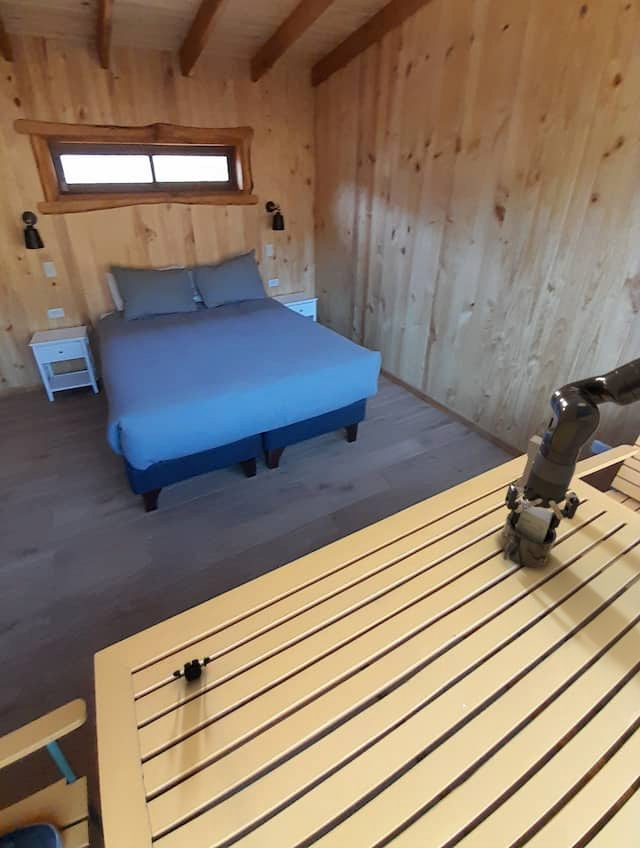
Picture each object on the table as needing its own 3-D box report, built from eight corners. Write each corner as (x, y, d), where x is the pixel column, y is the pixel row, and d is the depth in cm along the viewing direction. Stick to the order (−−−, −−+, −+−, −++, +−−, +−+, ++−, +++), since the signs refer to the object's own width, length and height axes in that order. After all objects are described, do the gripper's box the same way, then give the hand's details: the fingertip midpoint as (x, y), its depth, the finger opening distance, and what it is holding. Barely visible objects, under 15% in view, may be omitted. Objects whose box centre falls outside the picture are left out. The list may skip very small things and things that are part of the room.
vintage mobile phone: (520, 479, 122) (543, 410, 111) (538, 488, 119) (563, 418, 107) (515, 485, 120) (537, 415, 109) (532, 494, 116) (558, 423, 105)
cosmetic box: (541, 548, 99) (555, 512, 94) (536, 560, 96) (551, 523, 91) (512, 534, 103) (524, 499, 98) (507, 545, 100) (520, 509, 95)
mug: (515, 526, 106) (522, 503, 103) (555, 554, 98) (565, 532, 95) (483, 548, 100) (489, 526, 97) (523, 581, 92) (532, 558, 89)
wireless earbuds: (210, 664, 78) (208, 649, 76) (214, 677, 76) (211, 662, 74) (174, 680, 76) (171, 665, 74) (177, 694, 74) (173, 680, 72)
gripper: (520, 477, 87) (503, 530, 95) (596, 488, 84) (572, 542, 91) (512, 455, 94) (496, 507, 101) (581, 464, 90) (560, 517, 98)
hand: (532, 523), depth 96 cm, fingers open, 7 cm apart
